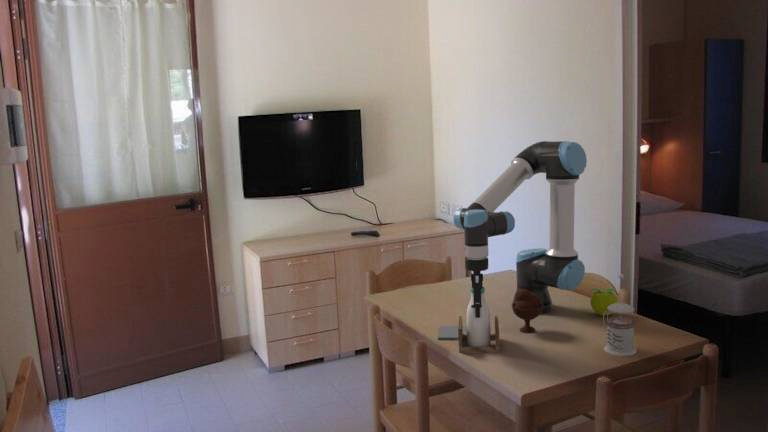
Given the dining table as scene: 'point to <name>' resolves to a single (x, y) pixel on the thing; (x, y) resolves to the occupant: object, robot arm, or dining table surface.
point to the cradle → (479, 349)
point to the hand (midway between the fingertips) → (477, 319)
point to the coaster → (450, 333)
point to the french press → (620, 330)
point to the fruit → (602, 301)
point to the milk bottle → (478, 334)
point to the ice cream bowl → (527, 308)
